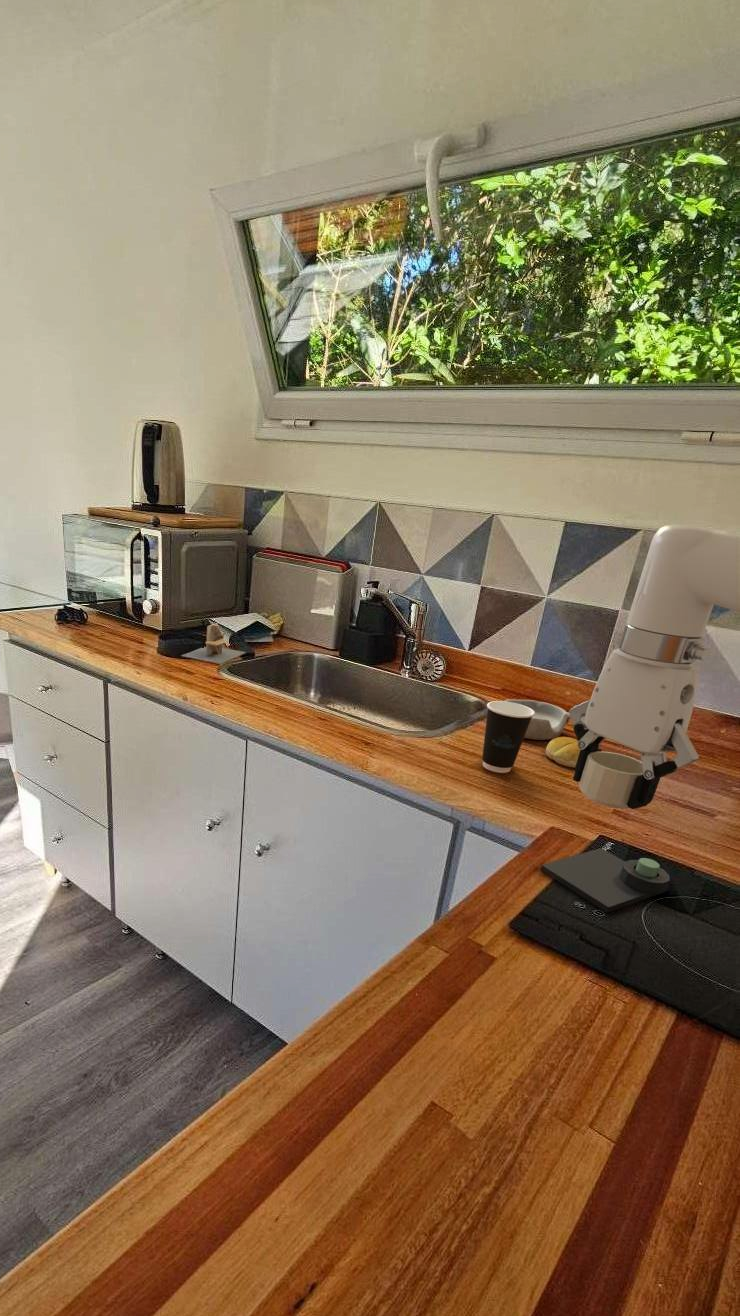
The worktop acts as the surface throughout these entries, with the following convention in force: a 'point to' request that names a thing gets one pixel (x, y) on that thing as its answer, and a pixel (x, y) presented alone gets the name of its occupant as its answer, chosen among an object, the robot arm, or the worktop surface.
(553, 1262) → the worktop surface
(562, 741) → the bread roll
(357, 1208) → the worktop surface
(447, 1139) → the worktop surface
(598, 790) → the bowl
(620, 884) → the scale
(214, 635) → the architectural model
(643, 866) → the button
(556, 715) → the dish
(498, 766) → the dixie cup
